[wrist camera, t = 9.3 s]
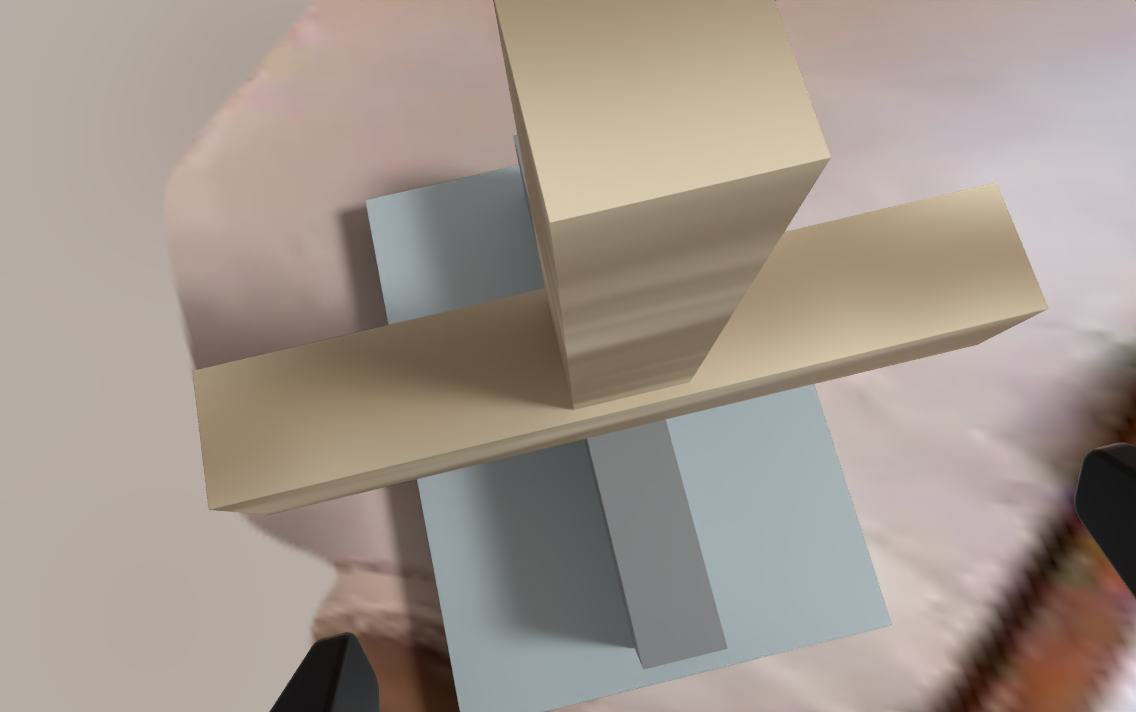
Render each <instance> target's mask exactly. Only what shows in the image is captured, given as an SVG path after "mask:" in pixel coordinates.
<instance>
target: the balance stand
mask: <svg viewBox="0 0 1136 712" xmlns="http://www.w3.org/2000/svg"><path fill="white" fill-rule="evenodd" d="M514 141H515V146H516V152H517V157H518V162H519V165H518V166H513V167H509V168H504V169H500V170H496V171H491V172H487V173H483V174H478V175H474V176H470V177H465V178H461V179H456V180H452V181H448V182H443V183H439V184H435V185H430V186H426V187H421V188H417V189H413V190H408V191H404V192H400V193H395V194H391V195H387V196H382V197H378V198H373V199H369V200H365V201H366V206H367V211H368V217H369V222H370V228H371V233H372V238H373V244H374V249H375V255H376V260H377V265H378V271H379V276H380V282H381V287H382V293H383V298H384V303H385V309H386V314H387V320H388V325H390V324H394V323H399V322H403V321H407V320H411V319H416V318H420V317H424V316H429V315H433V314H437V313H441V312H446V311H450V310H454V309H458V308H463V307H467V306H471V305H475V304H480V303H484V302H488V301H493V300H497V299H501V298H505V297H510V296H514V295H518V294H522V293H527V292H531V291H535V290H539V289H544V288H545V284H544V279H543V273H542V268H541V262H540V257H539V251H538V246H537V240H536V234H535V229H534V223H533V218H532V212H531V207H530V201H529V196H528V190H527V185H526V179H525V174H524V168H523V162H522V157H521V151H520V146H519V140H518V135H514ZM417 482H418V487H419V493H420V498H421V503H422V509H423V514H424V520H425V525H426V530H427V536H428V541H429V547H430V552H431V558H432V563H433V568H434V574H435V579H436V585H437V590H438V595H439V601H440V606H441V612H442V617H443V622H444V628H445V633H446V639H447V644H448V649H449V655H450V660H451V666H452V671H453V676H454V682H455V687H456V693H457V698H458V704H459V709H460V712H545V711H549V710H553V709H557V708H561V707H565V706H569V705H573V704H577V703H581V702H585V701H589V700H593V699H597V698H601V697H605V696H609V695H613V694H617V693H621V692H625V691H629V690H633V689H637V688H641V687H645V686H649V685H653V684H657V683H661V682H665V681H669V680H673V679H677V678H681V677H685V676H689V675H693V674H697V673H701V672H705V671H709V670H713V669H717V668H721V667H725V666H729V665H733V664H737V663H741V662H745V661H749V660H753V659H757V658H761V657H765V656H769V655H773V654H777V653H781V652H785V651H789V650H793V649H797V648H801V647H805V646H809V645H813V644H817V643H821V642H825V641H829V640H833V639H837V638H841V637H845V636H849V635H853V634H857V633H861V632H865V631H869V630H873V629H877V628H881V627H886V626H890V625H892V623H891V620H890V617H889V614H888V610H887V607H886V604H885V601H884V598H883V595H882V592H881V589H880V586H879V583H878V580H877V576H876V573H875V570H874V567H873V564H872V561H871V558H870V555H869V552H868V549H867V546H866V542H865V539H864V536H863V533H862V530H861V527H860V524H859V521H858V518H857V515H856V511H855V508H854V505H853V502H852V499H851V496H850V493H849V490H848V487H847V484H846V481H845V477H844V474H843V471H842V468H841V465H840V462H839V459H838V456H837V453H836V450H835V447H834V443H833V440H832V437H831V434H830V431H829V428H828V425H827V422H826V419H825V416H824V413H823V409H822V406H821V403H820V400H819V397H818V394H817V391H816V388H815V385H814V384H811V385H807V386H803V387H799V388H795V389H791V390H786V391H782V392H778V393H774V394H770V395H766V396H761V397H757V398H753V399H749V400H745V401H741V402H736V403H732V404H728V405H724V406H720V407H716V408H711V409H707V410H703V411H699V412H695V413H691V414H686V415H682V416H678V417H674V418H670V419H666V420H661V421H657V422H653V423H649V424H645V425H641V426H636V427H632V428H628V429H624V430H620V431H616V432H612V433H607V434H603V435H599V436H595V437H591V438H587V439H582V440H578V441H574V442H570V443H566V444H562V445H557V446H553V447H549V448H545V449H541V450H537V451H532V452H528V453H524V454H520V455H516V456H512V457H507V458H503V459H499V460H495V461H491V462H487V463H482V464H478V465H474V466H470V467H466V468H462V469H457V470H453V471H449V472H445V473H441V474H437V475H433V476H428V477H424V478H420V479H417Z"/></svg>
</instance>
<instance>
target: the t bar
mask: <svg viewBox="0 0 1136 712" xmlns="http://www.w3.org/2000/svg"><path fill="white" fill-rule="evenodd" d="M493 2H494V7H495V13H496V18H497V24H498V29H499V35H500V41H501V46H502V52H503V57H504V63H505V68H506V74H507V79H508V85H509V90H510V96H511V102H512V107H513V113H514V118H515V124H516V129H517V135H518V140H519V146H520V151H521V157H522V162H523V168H524V174H525V179H526V185H527V190H528V196H529V201H530V207H531V212H532V218H533V223H534V229H535V234H536V240H537V246H538V251H539V257H540V262H541V268H542V273H543V279H544V284H545V288H544V289H539V290H535V291H531V292H527V293H522V294H518V295H514V296H510V297H505V298H501V299H497V300H493V301H488V302H484V303H480V304H475V305H471V306H467V307H463V308H458V309H454V310H450V311H446V312H441V313H437V314H433V315H429V316H424V317H420V318H416V319H411V320H407V321H403V322H399V323H394V324H390V325H386V326H382V327H377V328H373V329H369V330H364V331H360V332H356V333H352V334H347V335H343V336H339V337H335V338H330V339H326V340H322V341H318V342H313V343H309V344H305V345H300V346H296V347H292V348H288V349H283V350H279V351H275V352H271V353H266V354H262V355H258V356H254V357H249V358H245V359H241V360H236V361H232V362H228V363H224V364H219V365H215V366H211V367H207V368H202V369H198V370H194V371H193V380H194V388H195V396H196V405H197V414H198V422H199V431H200V439H201V448H202V457H203V464H204V473H205V482H206V491H207V499H208V507H209V510H218V511H219V510H220V511H231V512H243V513H255V514H267V515H270V514H274V513H279V512H283V511H287V510H291V509H295V508H299V507H303V506H308V505H312V504H316V503H320V502H324V501H328V500H333V499H337V498H341V497H345V496H349V495H353V494H358V493H362V492H366V491H370V490H374V489H378V488H383V487H387V486H391V485H395V484H399V483H403V482H408V481H412V480H416V479H420V478H424V477H428V476H433V475H437V474H441V473H445V472H449V471H453V470H457V469H462V468H466V467H470V466H474V465H478V464H482V463H487V462H491V461H495V460H499V459H503V458H507V457H512V456H516V455H520V454H524V453H528V452H532V451H537V450H541V449H545V448H549V447H553V446H557V445H562V444H566V443H570V442H574V441H578V440H582V439H587V438H591V437H595V436H599V435H603V434H607V433H612V432H616V431H620V430H624V429H628V428H632V427H636V426H641V425H645V424H649V423H653V422H657V421H661V420H666V419H670V418H674V417H678V416H682V415H686V414H691V413H695V412H699V411H703V410H707V409H711V408H716V407H720V406H724V405H728V404H732V403H736V402H741V401H745V400H749V399H753V398H757V397H761V396H766V395H770V394H774V393H778V392H782V391H786V390H791V389H795V388H799V387H803V386H807V385H811V384H815V383H820V382H824V381H828V380H832V379H836V378H840V377H845V376H849V375H853V374H857V373H861V372H865V371H870V370H874V369H878V368H882V367H886V366H890V365H895V364H899V363H903V362H907V361H911V360H915V359H920V358H924V357H928V356H932V355H936V354H940V353H945V352H949V351H953V350H957V349H961V348H965V347H970V346H974V345H978V344H980V343H982V342H984V341H986V340H988V339H990V338H992V337H993V336H995V335H997V334H999V333H1001V332H1003V331H1005V330H1007V329H1009V328H1011V327H1013V326H1015V325H1017V324H1019V323H1021V322H1023V321H1025V320H1027V319H1029V318H1031V317H1033V316H1035V315H1037V314H1039V313H1041V312H1043V311H1045V310H1047V309H1049V308H1048V306H1047V304H1046V301H1045V299H1044V296H1043V294H1042V292H1041V289H1040V287H1039V284H1038V282H1037V279H1036V277H1035V275H1034V272H1033V270H1032V267H1031V265H1030V262H1029V260H1028V258H1027V255H1026V253H1025V250H1024V248H1023V245H1022V243H1021V241H1020V238H1019V236H1018V233H1017V231H1016V228H1015V226H1014V224H1013V221H1012V219H1011V216H1010V214H1009V212H1008V209H1007V207H1006V204H1005V202H1004V199H1003V197H1002V195H1001V192H1000V190H999V187H998V185H997V182H996V183H992V184H988V185H983V186H979V187H975V188H971V189H966V190H962V191H958V192H954V193H949V194H945V195H941V196H936V197H932V198H928V199H924V200H919V201H915V202H911V203H907V204H902V205H898V206H894V207H890V208H885V209H881V210H877V211H872V212H868V213H864V214H860V215H855V216H851V217H847V218H843V219H838V220H834V221H830V222H825V223H821V224H817V225H813V226H808V227H804V228H800V229H796V230H791V231H787V232H785V230H786V228H787V227H788V225H789V224H790V222H791V220H792V219H793V217H794V216H795V214H796V212H797V211H798V209H799V208H800V206H801V204H802V203H803V201H804V200H805V198H806V196H807V195H808V193H809V192H810V190H811V188H812V187H813V185H814V184H815V182H816V180H817V179H818V177H819V176H820V174H821V172H822V171H823V169H824V168H825V166H826V164H827V163H828V161H829V160H830V158H831V157H830V154H829V151H828V148H827V145H826V143H825V140H824V137H823V134H822V131H821V128H820V126H819V123H818V120H817V117H816V114H815V112H814V109H813V106H812V103H811V100H810V98H809V95H808V92H807V89H806V86H805V84H804V81H803V78H802V75H801V72H800V70H799V67H798V64H797V61H796V58H795V56H794V53H793V50H792V47H791V44H790V42H789V39H788V36H787V33H786V30H785V27H784V25H783V22H782V19H781V16H780V13H779V11H778V8H777V5H776V2H775V0H493Z"/></svg>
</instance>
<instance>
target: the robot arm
mask: <svg viewBox="0 0 1136 712" xmlns="http://www.w3.org/2000/svg"><path fill="white" fill-rule="evenodd" d="M1074 504H1075V509H1076V512H1077V515H1078V517H1079V519H1080V520H1081V522H1082V523H1083V525H1084V526H1085V528H1086V529H1087V531H1088V532H1089V533H1090V535H1091V536H1092V538H1093V539H1094V541H1095V542H1096V543H1097V545H1098V546H1099V548H1100V549H1101V551H1102V552H1103V553H1104V555H1105V556H1106V558H1107V559H1108V560H1109V562H1110V563H1111V565H1112V566H1113V568H1114V569H1115V570H1116V572H1117V573H1118V575H1119V576H1120V578H1121V579H1122V580H1123V582H1124V583H1125V585H1126V586H1127V588H1128V589H1129V590H1130V592H1131V593H1132V595H1133V596H1134V598H1135V599H1136V446H1134V445H1131V444H1127V443H1116V444H1111V445H1107V446H1103V447H1099V448H1095V449H1092V450H1090V451H1088V452H1087V453H1086V454H1085V456H1084V458H1083V461H1082V465H1081V470H1080V474H1079V479H1078V483H1077V488H1076V492H1075V497H1074ZM270 712H380V706H379V689H378V683H377V678H376V675H375V673H374V671H373V669H372V667H371V665H370V663H369V661H368V659H367V657H366V655H365V653H364V651H363V649H362V647H361V645H360V643H359V641H358V639H357V638H356V636H355V635H354V634H352V633H350V632H345V633H341V634H337V635H333V636H329V637H324V638H321V639H319V640H318V641H317V642H315V643H314V644H313V646H312V647H311V649H310V650H309V652H308V653H307V655H306V657H305V658H304V660H303V661H302V663H301V664H300V666H299V667H298V669H297V670H296V672H295V673H294V675H293V677H292V678H291V680H290V681H289V683H288V684H287V686H286V687H285V689H284V690H283V692H282V693H281V695H280V697H279V698H278V700H277V701H276V703H275V704H274V706H273V707H272V709H271V710H270Z"/></svg>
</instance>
